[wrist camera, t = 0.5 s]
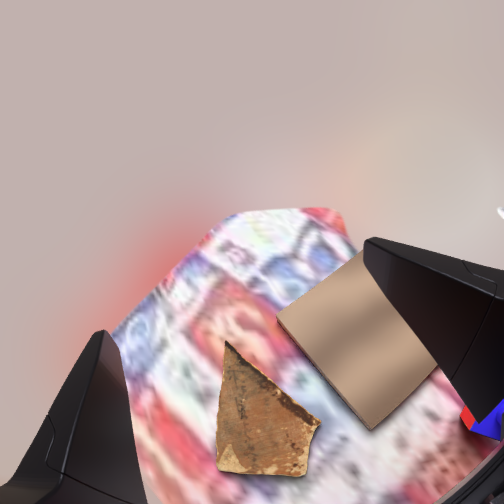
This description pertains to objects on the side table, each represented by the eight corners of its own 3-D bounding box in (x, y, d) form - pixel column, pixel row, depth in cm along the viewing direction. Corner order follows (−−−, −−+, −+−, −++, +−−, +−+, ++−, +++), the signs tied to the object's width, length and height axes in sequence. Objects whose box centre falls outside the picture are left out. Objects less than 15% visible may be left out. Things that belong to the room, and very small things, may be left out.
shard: (229, 345, 25) (223, 338, 23) (320, 344, 23) (320, 336, 22) (217, 469, 18) (210, 470, 17) (319, 474, 17) (319, 476, 15)
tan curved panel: (453, 344, 20) (458, 339, 19) (369, 429, 18) (371, 429, 17) (362, 256, 27) (363, 249, 26) (277, 320, 25) (275, 314, 24)
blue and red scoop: (455, 409, 18) (478, 445, 11) (478, 364, 18) (513, 383, 11) (484, 420, 16) (513, 456, 9) (507, 376, 16) (547, 397, 9)
